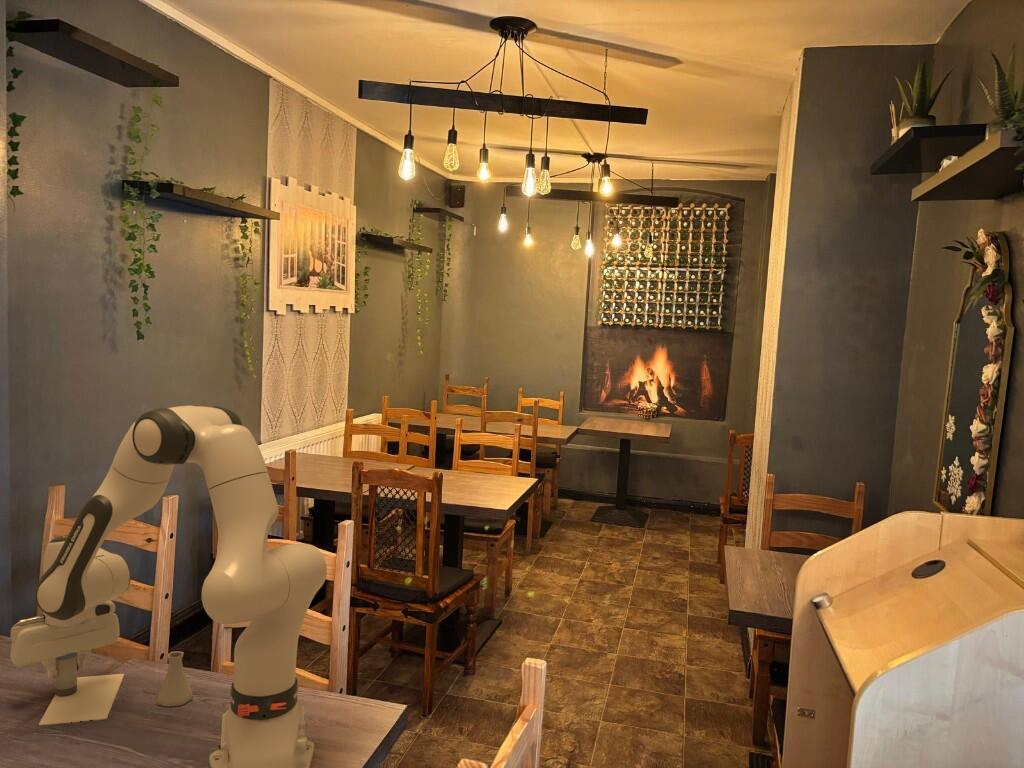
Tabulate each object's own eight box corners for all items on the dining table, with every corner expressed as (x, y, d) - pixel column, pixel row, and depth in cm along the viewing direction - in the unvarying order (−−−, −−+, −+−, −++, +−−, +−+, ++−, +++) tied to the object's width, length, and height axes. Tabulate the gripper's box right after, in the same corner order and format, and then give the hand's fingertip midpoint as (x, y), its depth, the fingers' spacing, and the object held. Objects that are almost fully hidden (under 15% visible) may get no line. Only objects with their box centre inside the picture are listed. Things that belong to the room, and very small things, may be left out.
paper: (106, 719, 155) (106, 717, 155) (38, 725, 152) (38, 724, 152) (124, 674, 174) (124, 673, 174) (64, 679, 171) (64, 678, 171)
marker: (74, 695, 163) (75, 654, 163) (53, 697, 162) (53, 655, 161) (79, 686, 167) (79, 646, 166) (58, 688, 166) (58, 647, 165)
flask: (184, 708, 161) (185, 662, 160) (149, 707, 161) (150, 660, 160) (198, 692, 168) (199, 647, 168) (165, 690, 168) (166, 646, 168)
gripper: (15, 626, 153) (15, 694, 155) (123, 603, 169) (122, 664, 170) (5, 617, 158) (5, 683, 159) (111, 595, 173) (110, 655, 174)
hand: (66, 673), depth 164 cm, fingers closed on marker, 4 cm apart
